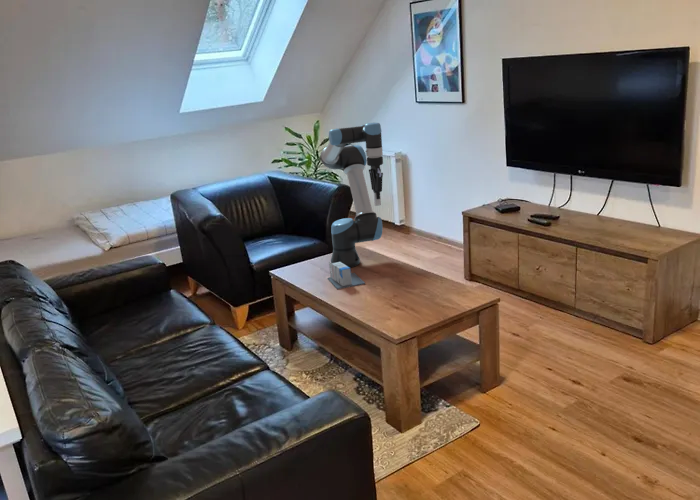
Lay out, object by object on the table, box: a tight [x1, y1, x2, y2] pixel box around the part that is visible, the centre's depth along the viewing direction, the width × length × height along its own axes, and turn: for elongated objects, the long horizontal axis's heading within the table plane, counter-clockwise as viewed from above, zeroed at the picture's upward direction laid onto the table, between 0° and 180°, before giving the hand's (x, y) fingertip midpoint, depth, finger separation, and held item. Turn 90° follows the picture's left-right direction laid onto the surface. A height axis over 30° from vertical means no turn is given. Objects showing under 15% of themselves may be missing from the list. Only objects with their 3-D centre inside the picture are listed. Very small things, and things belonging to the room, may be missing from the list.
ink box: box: [328, 261, 352, 286], centre depth 306 cm, size 8×5×15 cm
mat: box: [326, 272, 366, 290], centre depth 308 cm, size 16×14×1 cm
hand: (377, 205), depth 306 cm, fingers closed
